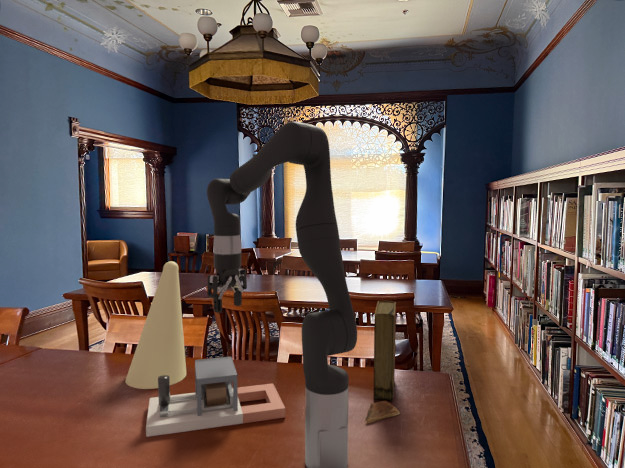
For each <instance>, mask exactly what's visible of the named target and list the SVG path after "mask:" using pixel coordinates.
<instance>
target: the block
mask: <svg viewBox="0 0 625 468" xmlns="http://www.w3.org/2000/svg"><path fill="white" fill-rule="evenodd" d="M220 404H226V384H225V382H219V383H211V384H206V405H207V406H213V405H220Z"/></svg>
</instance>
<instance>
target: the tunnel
mask: <svg viewBox="0 0 625 468" xmlns="http://www.w3.org/2000/svg"><path fill="white" fill-rule="evenodd" d="M232 357H233V356H224V357H223V356H221V357H215V358H214V357H211V358H204V359H203V358H202V359H201V358H200V359H194V379H195V380H194V381H195V383H194V384H195V393H196V394H197V415H198V416H202V407H201V386H202V388H203V393H206V384H211V383H219V382H225V384H226V391H227V383H229V382H230V383H231V386H232V388H233V410H234V411H238V372H237V370H236V366H235V364H234V361H233V358H232Z"/></svg>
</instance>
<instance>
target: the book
mask: <svg viewBox="0 0 625 468" xmlns="http://www.w3.org/2000/svg"><path fill="white" fill-rule="evenodd" d="M396 306H397V302H396V301H394V300H393V301H392V300H378V301H377V303H376V307H375V310H374V320H373V321H374V323H373V325H374V328H373V331H374V332H373V334H374V335H373V337H374V338H373V339H374V340H373V393H372V394H373V396H372V397H373V400H386V401H387V400H388V401H391V402H394V393H395V379H396V378H395V373H396V371H395V370H396V369H395V367H396V362H395V361H396V318H397V316H396V315H397V314H396V313H397V311H396V309H397V307H396Z"/></svg>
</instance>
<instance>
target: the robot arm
mask: <svg viewBox="0 0 625 468" xmlns="http://www.w3.org/2000/svg"><path fill="white" fill-rule="evenodd" d="M330 153H331V151H330V142H329V138H328V136H327V134H326V132H325V130H324V129H322V128H321V127H319V126H317V125H313V124H309V123H305V122H300V121H288V122H286V123H284V124H283V125H282V126H281V127H279V129H278V130H277V131H276V132H275V133H274V134H273V135H272V136H271V137H270V138H269V139H268V141H266V142H265V144H264V145H263V146H262V147H261V148H260V149H259V150H258V151H257V153H256V154H254V156H253V157H251V158H250V159H248V161H246V162H245V163H243V164H242V165H240V166H239V167H237V168H236V169H235V170H233V172H231V175H229V178H213V179H211V180H210V181H209V183H208V186H207V188H206V196H207V200H208V204H209V207H210V211H211V215H212V218H213V227H214V228H213V230H214V231H213V232H214V233H213V236H214V237H213V268H214V269H215V270H216V272H215V273H216V274H215V275H211V274H209V275H208V276H207V295H206V296H207V298H211V299H212V301H213V311H214V312H215V313H217V314H219V313H223V296H224V293H226V292H227V290H228V289H230V288H231V289H232V290H233V306H234V307H235V306H237V307H240V306H242V302H243V300H242V298H243V294H242V293H244V290H247V289H248V283H247V282H248V280H247V269H244V268H242V241H241V218H240V216H239V215H238V214H236V213H232V212H229V211H228V208H227V205H230V206H231V205H239V204H241V203H243V202H245V201H246V199H248V197H249V196H250V194H252V192H254V191H255V190H257V189H259V188H260V187H262V186H263V185H264V184H266V182H268V181H269V180H270V179H269V178H270V177H271V175H272V170H273V168H274V167H277V166H279V165H282V164H285V163H289V164H294V165H301V166H303V169H304V175H305V183H306V184H305V186H306V187H305V193H304V197H303V199H302V202H301V204H300V206H299V208H298V212H297V215H296V219H295V232H296V233H295V234H296V240H297V241H296V242H297V246H298V251H299V254H300V256H301V258H302V260H303V262H304V263H305V264H306V266H307V268H308V269H309V270H310V271H311V272H312V273H313V275H314V276H315V277H316V279H317V280H318V282H320V285H321V286H322V288H323V290H324V293H325V296H326V300H327V303H328V310H322V311H321V310H320V311H316V312H310V313H307V314H306V315H305V316H304V319H303V320H302V322H301V323H302V324H301V347H302V349H301V350H302V369H303V375H304V385H305V386H304V387H305V388H304V389H305V390H304V391H305V393H304V397H305V399H304V447H305V449H304V454H305V455H304V458H305V459H304V461H305V462H304V463H305V466H306V468H348V465H349V391H350V389H349V381H350V379H349V378H350V377H349V374H348V372H347V371H346V370H345V369H344V368H342V367H341V366H336V365H334V364H329V362H328V357H329V356H335V355H340V354H344V353H349V352H352V351H353V350H354V349H355V347H356V345H357V342H358V327H357V322H356V317H355V313H354V309H353V305H352V304H353V303H352V300H351V297H350V292H349V289H348V283H347V279H346V273H345V268H344V263H343V262H344V261H343V255H342V248H341V239H340V232H339V227H338V221H337V217H336V216H337V215H336V211H335V210H336V209H335V203H334V194H333V186H332V173H331V171H332V170H331V154H330Z"/></svg>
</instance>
